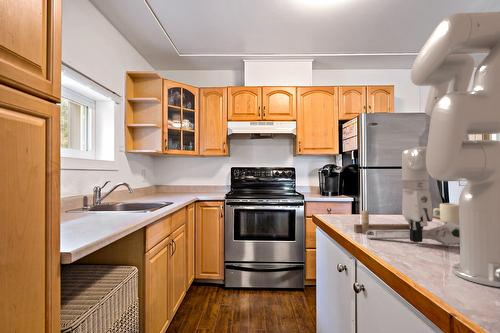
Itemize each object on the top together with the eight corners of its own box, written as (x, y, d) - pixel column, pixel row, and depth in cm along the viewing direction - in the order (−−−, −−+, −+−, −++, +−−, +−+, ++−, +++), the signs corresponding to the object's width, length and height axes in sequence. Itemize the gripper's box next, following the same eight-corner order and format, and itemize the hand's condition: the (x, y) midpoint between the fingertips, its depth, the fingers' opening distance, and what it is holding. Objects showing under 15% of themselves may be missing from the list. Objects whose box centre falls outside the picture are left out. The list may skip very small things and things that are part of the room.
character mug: (472, 241, 94) (471, 204, 94) (474, 246, 88) (473, 206, 89) (434, 237, 100) (433, 202, 101) (433, 241, 95) (432, 204, 95)
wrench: (367, 246, 99) (470, 247, 85) (366, 244, 98) (471, 245, 84) (365, 225, 103) (463, 223, 90) (365, 223, 102) (464, 221, 88)
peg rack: (426, 234, 106) (426, 211, 106) (359, 234, 106) (358, 211, 107) (418, 231, 111) (418, 209, 111) (354, 231, 112) (353, 209, 112)
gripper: (441, 187, 83) (443, 247, 83) (413, 184, 98) (414, 236, 98) (416, 187, 83) (417, 247, 83) (392, 185, 98) (393, 236, 98)
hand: (416, 241), depth 91 cm, fingers closed
